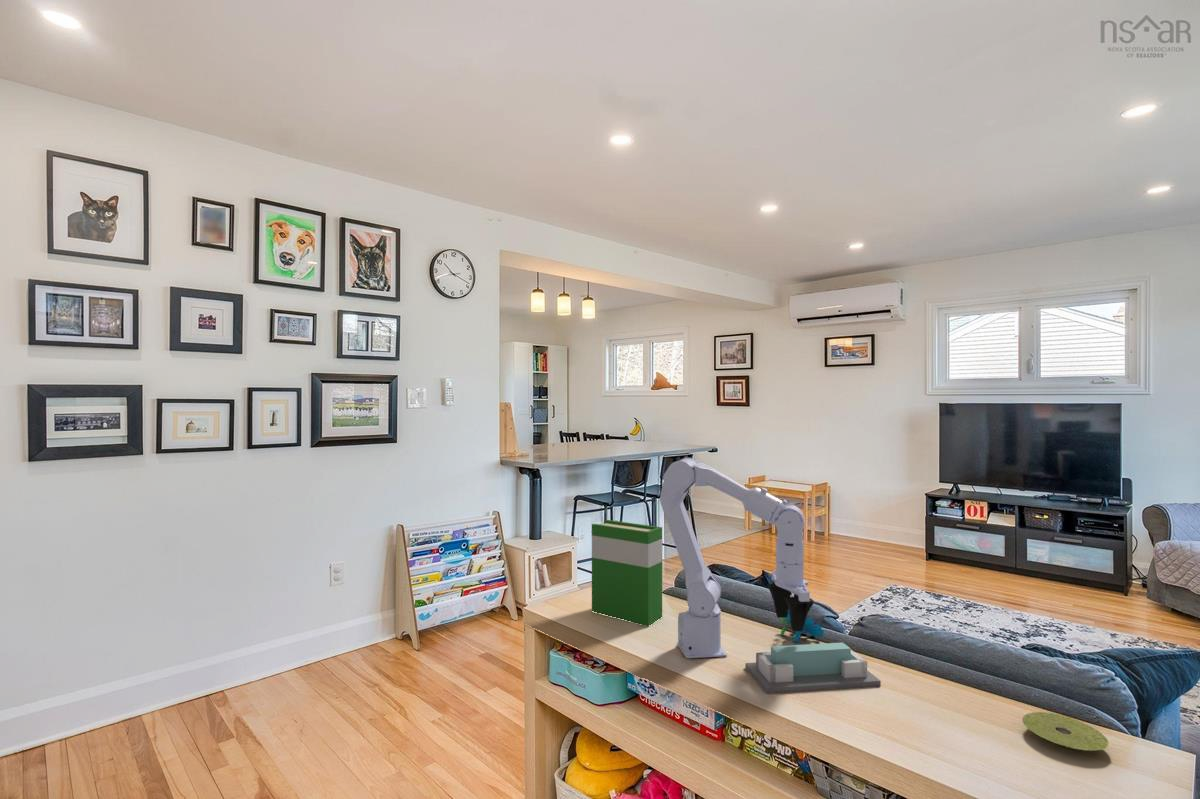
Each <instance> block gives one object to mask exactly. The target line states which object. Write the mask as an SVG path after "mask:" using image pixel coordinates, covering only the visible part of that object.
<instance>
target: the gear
mask: <svg viewBox="0 0 1200 799" xmlns="http://www.w3.org/2000/svg"><path fill="white" fill-rule="evenodd" d="M780 622H782V626H783V627H782V629H781V631H780V634H779V635H780V636H782V635H783V636H784V634H785V632H786V630H787V629H789V630H792V628H791V622H790V613H789V609H788V615H787V617H784V618H780ZM814 622H815V620H814V619H813V618H812V617H808V618H806V620H805V624H804V627H803V631H795V634H794V636H793V638H792V641H793V642H794V643H796V642H797V643H798V640H799V639H800V637H801V634H802V633H803V634H806V635H808V634H809V635H810V636H811V637H813V638H816V637H817V638H819V639H821V638H822V636H824V635H825V630H824V629H822V628H823V627H822V626H821V625H820V624H819V623H816V624H814Z"/></svg>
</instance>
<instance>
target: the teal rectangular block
mask: <svg viewBox="0 0 1200 799" xmlns="http://www.w3.org/2000/svg"><path fill="white" fill-rule="evenodd" d="M851 650H852V648H851V647H849V646H848V645H847V644H845V643H844V642H829V643H812V644H795V645H794V644H793V645H773V646H771V645H770V652H771V663H772V664H773V665H777V664H791V665H792V666H793V676H807V675H823V674H839V673H842V661H843V660H851Z"/></svg>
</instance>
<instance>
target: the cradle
mask: <svg viewBox="0 0 1200 799" xmlns="http://www.w3.org/2000/svg"><path fill="white" fill-rule="evenodd" d="M744 668H745V670H746V671H747V672H748V673H749V674H750V676H752V677H753V679H754V680H755V681H756V682H757V683H758V685H759V686H760V687H761V689H762V690H763V691H764V692H765V693H766V694H778V693H791V692H792V693H794V692H806V691H807V692H809V691H823V690H822V689H826V690H837V689H836V688H840V689H854V688H855V689H856V688H867V687H880V686H881V684H882V682H881V680H880V679H879V678H877V676H876V675H874V673H871V672H870V671H869V670H868V661H867V660H866V659H864V658H863V657H861V656H860V655H859V654H857V653H856V652H855V651H854V650H852V649H851V660H843V661H842V673H839V674H823V675H807V676H793V666H792V665H791V664H777V665H773V664H772V663H771V651H764V652H756V653H755V662H746V663H745V667H744Z"/></svg>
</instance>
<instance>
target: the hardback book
mask: <svg viewBox="0 0 1200 799" xmlns="http://www.w3.org/2000/svg"><path fill="white" fill-rule="evenodd" d="M592 611H594V612H597V613H601V614H605V615H608V616H612V617H616V618H620V619H624V620H627V621H631V622H634V623H638V624H642V625H646V626H649V625H651V624H652V625H654V624H655V623H656V622H655V621H657V620H658V619H660V618H661V617H662V618H663V526H654V525H647V524H641V523H640V524H639V523H634V522H625V521H618V520H610V519H605V520H604V523H602V524H600V523H591V612H592ZM660 620H661V619H660ZM627 621H626V622H627ZM654 622H655V623H654ZM657 622H658V621H657ZM634 623H633V624H634ZM653 623H654V624H653ZM638 624H637V625H638ZM642 625H641V626H642ZM652 625H651V626H652ZM646 626H645V627H646ZM649 627H650V626H649Z"/></svg>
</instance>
